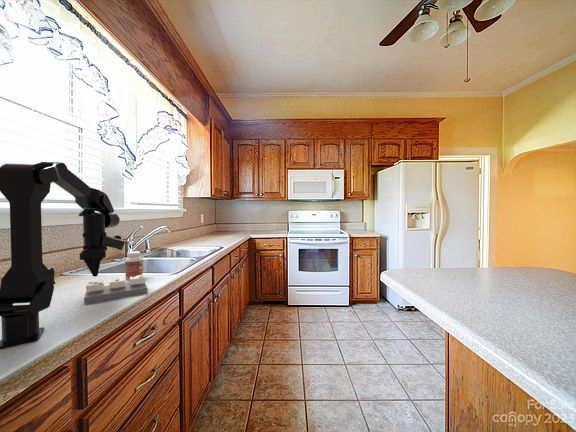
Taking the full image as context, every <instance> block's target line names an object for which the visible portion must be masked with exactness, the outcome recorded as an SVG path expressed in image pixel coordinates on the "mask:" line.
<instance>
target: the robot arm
mask: <svg viewBox="0 0 576 432" xmlns="http://www.w3.org/2000/svg"><path fill="white" fill-rule="evenodd" d="M53 183H54V184H56V186H58V187H60V188H61V189H62V190H64V191H65V192H67V193H68V194H70V195H71V196H73V197H74V202H75V204H77V205H78V206H79V208H81V209H82V211H81V212H79V213H78V216H79V217H82V238H83V246H82V251H80V253H79V260H80V261H83V262H84V263H85V266H87V268H88V270H89V272H90V273H91V275H92V277H98V275H99V270H100V266H101V262H102V261H103V259H105V258H107V257H106V256H107V251H108V247H109V248H113V249H117V250H119V251H123V250H124V249H123V248H124V246H125V244H126V240H125V239H122V236H121V235H118V234H115V235H114V236H109V235H107V232H106V229H108V228H115V227H117V226H118V225H119V224H120V220H121V219H120V217H119V215H118V214H117V213H116V212H115V209H114V207H113V205H112V203H111V200H110V198H109V196H108V194H107V193H106V192H104V191H102V190H101V189H98V188H95V187H91V186H90V185H88V184H87V183H86V182H85V181H83V180H82V179H81V178H80V177H79V176H77V174H75V173H74V172H72V170H70V169H69V168H68V167H67V164H66V163H64V162H61V161H53V160H52V161H50V160H48V161H47V160H42V161H39V162H34V163H4V164H2V165H1V166H0V193H1V194H2V196H4V198H5V199H6V200H7V201H8V202H9V203H8V204H9V225H10V230H9V231H10V267H9V268H8V270H7V271H6V272H5V274H4V275H3V276H2V278H1V280H0V318H1V320H0V322H1V339H0V349H4V348H9V347H13V346H14V347H15V346H17V345H22V344H26V343H27V344H28V343H31V342H35V341H38V340H39V339H40V337H41V336H42V335H43V333H44V331H45V327H40V312H43V311H44V310H46V309H48V308H50V307H51V302H52V298H53V296H54V295H53V294H54V290H55V285H56V281H55V269H54V268H53V267H47V266H46V264H44V262H43V233H42V231H43V229H42V228H43V227H42V224H43V223H42V202H43V201H44V200H45V198H47V196H48V195H49V193H51V192H50V191H51V184H53ZM28 303H29V304H28ZM14 304H15V305H14Z"/></svg>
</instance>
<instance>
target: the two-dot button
mask: <svg viewBox="0 0 576 432" xmlns="http://www.w3.org/2000/svg"><path fill="white" fill-rule="evenodd" d="M129 282H130V284H131V285H135V284H141V283H145V284H146V276H145V274H143V275H138V276H131V277H130V280H129Z"/></svg>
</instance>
